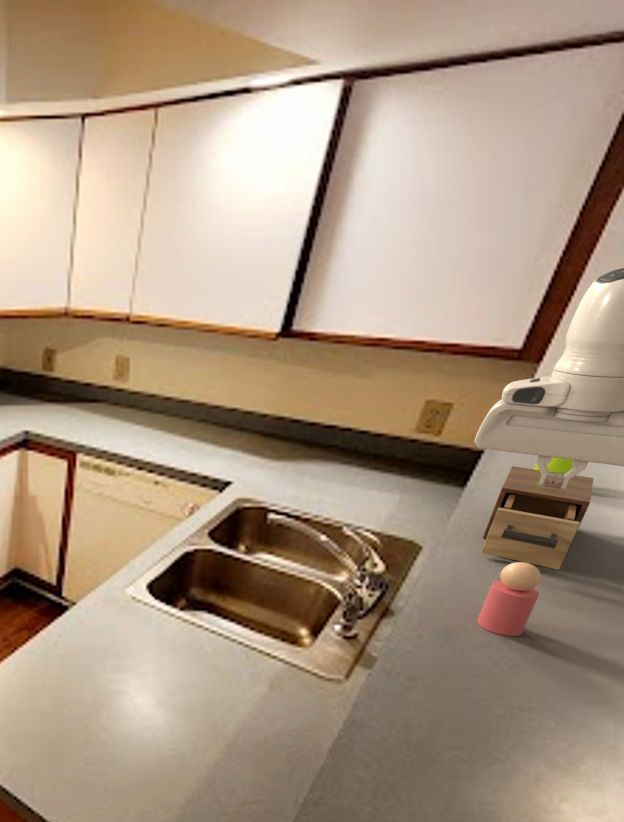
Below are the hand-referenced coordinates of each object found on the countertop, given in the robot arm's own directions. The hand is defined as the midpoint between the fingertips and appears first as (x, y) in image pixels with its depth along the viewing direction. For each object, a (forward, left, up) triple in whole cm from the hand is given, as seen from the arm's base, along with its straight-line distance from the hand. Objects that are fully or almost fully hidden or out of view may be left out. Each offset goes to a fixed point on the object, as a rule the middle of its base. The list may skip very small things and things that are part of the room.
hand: (551, 486), depth 92 cm
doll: (+6, +21, -14) cm, 26 cm away
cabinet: (-5, -18, -14) cm, 23 cm away
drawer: (-2, -6, -13) cm, 15 cm away
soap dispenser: (-15, -47, -14) cm, 52 cm away
